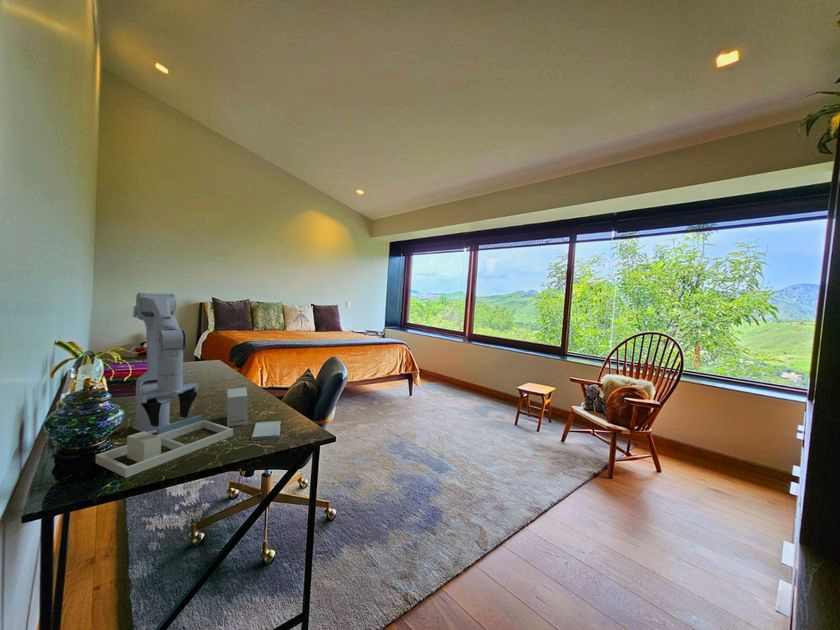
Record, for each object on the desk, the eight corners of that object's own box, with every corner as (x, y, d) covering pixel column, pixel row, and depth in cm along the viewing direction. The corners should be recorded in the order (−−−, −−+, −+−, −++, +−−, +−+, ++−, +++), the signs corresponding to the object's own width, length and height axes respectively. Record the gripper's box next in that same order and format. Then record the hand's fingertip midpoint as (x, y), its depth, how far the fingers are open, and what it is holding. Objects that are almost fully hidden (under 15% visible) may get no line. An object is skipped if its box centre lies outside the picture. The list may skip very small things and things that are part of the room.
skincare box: (226, 416, 126) (227, 388, 125) (246, 414, 129) (246, 387, 128) (226, 427, 117) (226, 397, 116) (247, 424, 120) (248, 395, 119)
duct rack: (93, 461, 90) (93, 447, 90) (202, 425, 117) (202, 414, 116) (125, 477, 84) (125, 462, 84) (233, 435, 111) (233, 423, 110)
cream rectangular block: (127, 457, 94) (127, 436, 93) (143, 451, 97) (144, 431, 97) (144, 465, 90) (144, 443, 90) (160, 459, 94) (161, 437, 94)
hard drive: (279, 435, 111) (280, 420, 123) (251, 437, 108) (255, 422, 120) (279, 440, 111) (280, 425, 123) (251, 442, 108) (255, 426, 120)
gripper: (149, 381, 87) (149, 433, 88) (205, 370, 100) (204, 416, 101) (133, 376, 89) (133, 427, 90) (189, 366, 103) (188, 411, 104)
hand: (169, 421), depth 96 cm, fingers open, 7 cm apart
